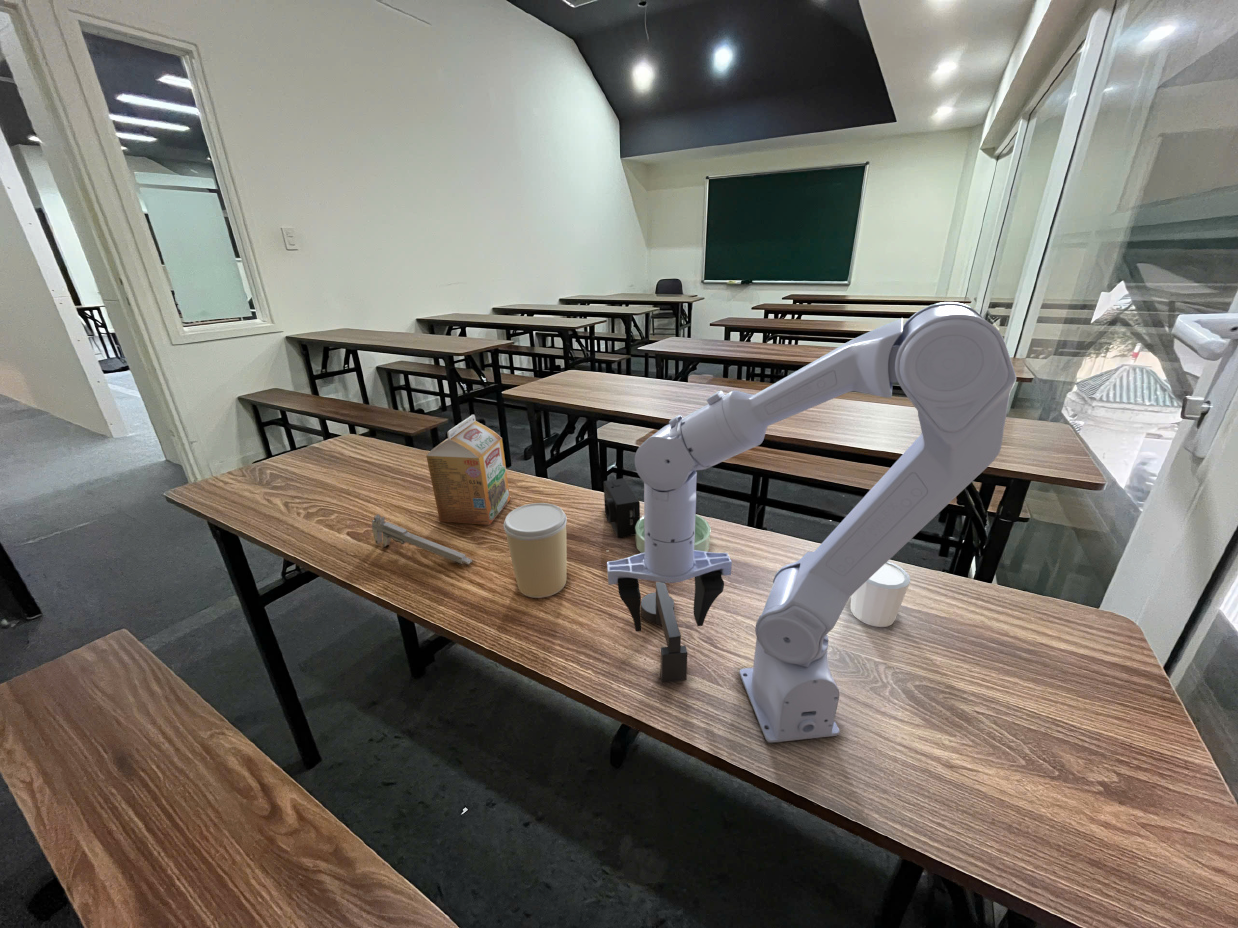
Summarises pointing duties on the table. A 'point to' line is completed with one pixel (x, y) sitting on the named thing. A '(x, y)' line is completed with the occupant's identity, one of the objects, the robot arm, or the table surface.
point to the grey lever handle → (666, 633)
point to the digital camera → (621, 507)
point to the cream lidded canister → (538, 548)
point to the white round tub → (881, 596)
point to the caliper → (412, 540)
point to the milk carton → (469, 474)
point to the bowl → (699, 543)
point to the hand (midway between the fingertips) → (668, 623)
